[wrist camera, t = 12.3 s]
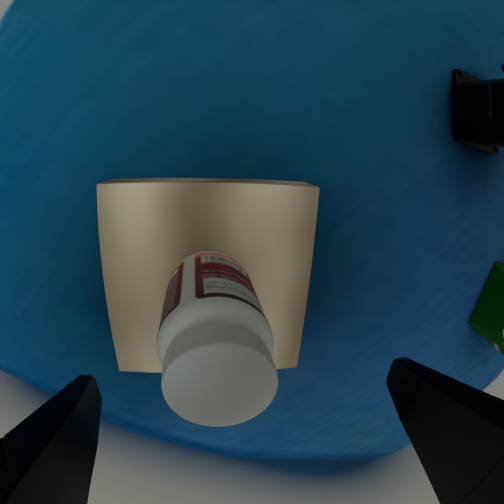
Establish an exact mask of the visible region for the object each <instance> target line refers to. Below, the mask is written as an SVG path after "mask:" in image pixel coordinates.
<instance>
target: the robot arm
mask: <svg viewBox="0 0 504 504" xmlns="http://www.w3.org/2000/svg"><path fill="white" fill-rule="evenodd" d="M501 67H502V70H503V72H504V64H503V65H501ZM458 135H459V138H458ZM453 138H454V140H455V141H456V142H458V143H461V144H464V145H467V146H470V147H473V148H476V149H479V150H482V151H485V152H487V153H490V154H493V155H497V154H498V151H499V147H504V79H492V80H480V79H478V78H476V77H474V76H472V75H470V74H469V73H467V72H465V71H463V70H461V69H454V70H453ZM386 383H387V387H388V389H389V392H390V395H391V397H392V400H393V402H394V405H395V408H396V410H397V413H398V416H399V418H400V421H401V423H402V425H403V427H404V429H405V431H406V433H407V435H408V437H409V439H410V441H411V443H412V445H413V447H414V449H415V451H416V453H417V455H418V457H419V459H420V461H421V463H422V466H423V468H424V470H425V472H426V474H427V476H428V478H429V480H430V482H431V485H432V487H433V489H434V491H435V493H436V496H437V498H438V500H439V502H440V504H504V400H502V399H500V398H497V397H495V396H492V395H490V394H488V393H485V392H483V391H481V390H479V389H476V388H474V387H472V386H469V385H467V384H465V383H462V382H460V381H458V380H455V379H453V378H451V377H449V376H446V375H444V374H442V373H440V372H437V371H435V370H433V369H431V368H428V367H426V366H424V365H422V364H420V363H417V362H415V361H413V360H411V359H408V358H406V357H402V358H397V359H395V360H394V361H393V362H392V365H391V367H390V370H389V373H388V376H387V380H386ZM101 406H102V398H101V394H100V391H99V388H98V385H97V382H96V379H95V377H94V376H92V375H80V376H78V377H77V378H76V379H74V380H73V381H72V382H71V383H69V384H68V385H67V386H66V387H64V388H63V389H62V390H61V391H59V392H58V393H57V394H56V395H54V396H53V397H52V398H51V399H49V400H48V401H47V402H46V403H45V404H43V405H42V406H41V407H39V408H38V409H37V410H36V411H34V412H33V413H32V414H31V415H29V416H28V417H27V418H26V419H24V420H23V421H22V422H21V423H19V424H18V425H17V426H16V427H15V428H13V429H12V430H11V431H10V432H8V433H7V434H6V435H5V436H4V438H1V439H0V504H87V502H88V495H89V489H90V483H91V477H92V472H93V467H94V461H95V457H96V451H97V445H98V434H99V424H100V415H101Z"/></svg>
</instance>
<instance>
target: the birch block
mask: <svg viewBox="0 0 504 504" xmlns="http://www.w3.org/2000/svg"><path fill="white" fill-rule="evenodd" d="M318 198H319V187H317V186H314V185H311V184H308V183H305V182H298V181H281V180H260V179H232V178H130V179H111V180H108V181H105V182H102V183H99V184H97V209H98V227H99V240H100V252H101V262H102V271H103V279H104V287H105V294H106V301H107V308H108V314H109V320H110V326H111V332H112V337H113V342H114V347H115V352H116V357H117V361H118V366H119V370H120V371H131V372H160V373H162V365H161V363H160V360H159V357H158V352H157V335H158V331H159V326H160V321H161V315H162V310H163V304H164V299H165V294H166V288H167V284H168V280H169V277H170V275H171V273H172V271H173V269H174V268H175V267H176V265H177V264H178V263H179V262H180V261H181V260H182V259H184V258H186V257H187V256H189V255H192V254H194V253H197V252H201V251H218V252H222V253H225V254H228V255H230V256H231V257H233V258H234V259H236V260H237V261H238V262H239V263H240V264H241V265H242V266H243V267H244V268H245V270H246V272H247V273H248V276H249V278H250V280H251V283H252V285H253V287H254V290H255V292H256V295H257V297H258V299H259V302H260V304H261V306H262V309H263V311H264V314H265V316H266V318H267V321H268V322H269V325H270V327H271V330H272V334H273V341H274V348H273V355H272V359H273V362H274V365H275V367H276V369H282V368H293V367H297V363H298V357H299V351H300V345H301V338H302V332H303V325H304V318H305V311H306V304H307V297H308V289H309V281H310V273H311V265H312V257H313V248H314V239H315V229H316V220H317V209H318Z"/></svg>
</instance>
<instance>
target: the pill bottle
mask: <svg viewBox="0 0 504 504" xmlns="http://www.w3.org/2000/svg"><path fill="white" fill-rule="evenodd" d="M273 348H274V341H273V334H272V330H271V327H270V325H269V322H268V321H267V318H266V316H265V314H264V311H263V309H262V306H261V304H260V302H259V299H258V297H257V295H256V292H255V290H254V287H253V285H252V283H251V280H250V278H249V276H248V273H247V272H246V270H245V268H244V267H243V266H242V265H241V264H240V263H239V262H238V261H237V260H236V259H234V258H233V257H231V256H230V255H228V254H225V253H222V252H218V251H201V252H197V253H194V254H192V255H189V256H187V257H186V258H184V259H182V260H181V261H180V262H179V263H178V264H177V265H176V267H175V268H174V269H173V271H172V273H171V275H170V277H169V280H168V284H167V288H166V294H165V299H164V304H163V310H162V315H161V321H160V326H159V331H158V335H157V352H158V357H159V360H160V363H161V365H162V380H161V387H162V392H163V395H164V398H165V400H166V402H167V404H168V405H169V407H170V408H171V409H172V410H173V411H174V412H175V413H176V414H178V415H179V416H181V417H182V418H184V419H186V420H188V421H190V422H193V423H196V424H200V425H204V426H213V427H222V426H231V425H235V424H239V423H242V422H245V421H247V420H249V419H252V418H253V417H255V416H257V415H258V414H260V413H261V412H262V411H264V410H265V409H266V408H267V407H268V406H269V404H270V403H271V402H272V400H273V398H274V397H275V395H276V392H277V388H278V374H277V370H276V367H275V365H274V362H273V359H272V355H273Z"/></svg>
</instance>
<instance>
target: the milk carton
mask: <svg viewBox="0 0 504 504" xmlns="http://www.w3.org/2000/svg"><path fill="white" fill-rule="evenodd" d="M468 323H469V324H470V325H471V326H473V327H474V328H475V329H476V330H477V331H478V332H479V333H480V334H481V335H482V336H484V337H485V338H486V339H487V340H488V341H489V342H490V343H491V344H492V345H493V346H494V347H495V348H496V349H498V350H499V351H500V352H501V353H502V354H503V355H504V264H501V263H497V262H495V263H494V266H493V268H492V271H491V273H490V276H489V278H488V280H487V283H486V285H485V287H484V290H483V292H482V294H481V296H480V299H479V301H478V303H477V305H476V307H475V309H474V311H473V313H472V315H471V317H470V319H469V321H468Z"/></svg>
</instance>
